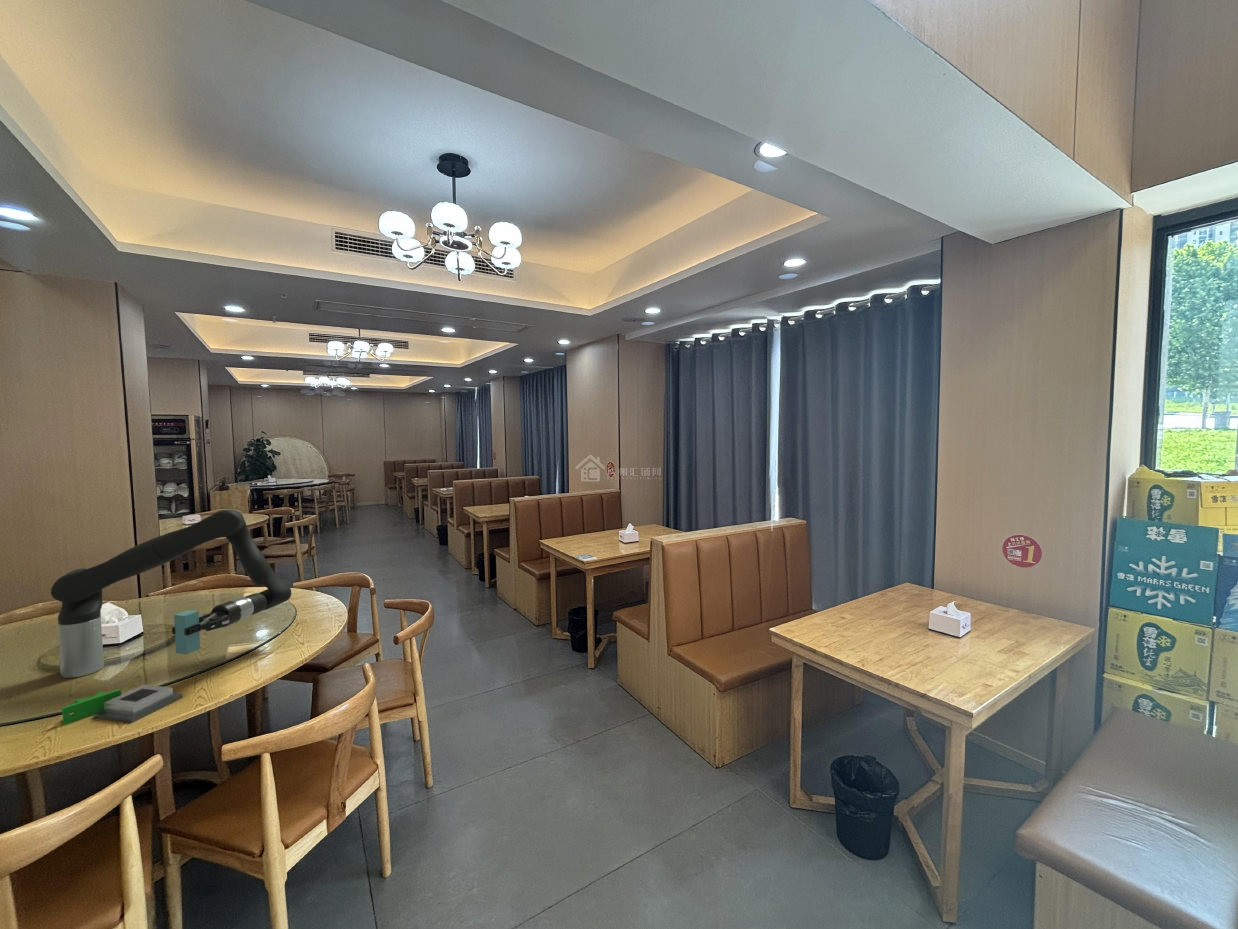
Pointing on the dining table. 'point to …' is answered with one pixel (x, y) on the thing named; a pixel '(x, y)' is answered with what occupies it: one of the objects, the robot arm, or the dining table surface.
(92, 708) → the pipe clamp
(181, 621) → the teal square peg
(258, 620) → the dining table surface
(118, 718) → the square socket plate
